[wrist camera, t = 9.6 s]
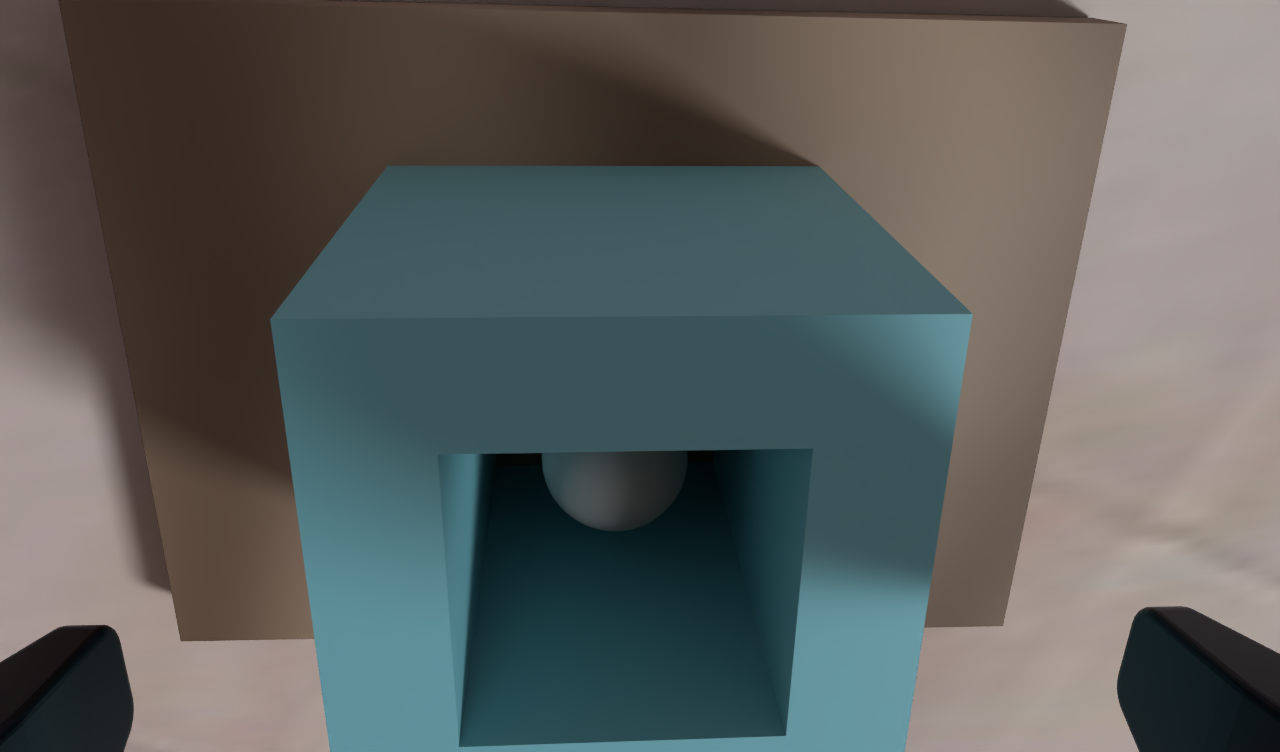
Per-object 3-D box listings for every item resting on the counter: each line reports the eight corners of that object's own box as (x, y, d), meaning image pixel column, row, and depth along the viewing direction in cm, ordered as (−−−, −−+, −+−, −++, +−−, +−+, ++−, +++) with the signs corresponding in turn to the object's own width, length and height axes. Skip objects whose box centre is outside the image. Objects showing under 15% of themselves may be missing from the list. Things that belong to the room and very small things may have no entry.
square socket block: (419, 538, 16) (343, 845, 11) (387, 165, 14) (269, 319, 9) (788, 530, 17) (894, 822, 11) (819, 165, 14) (972, 312, 9)
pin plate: (200, 604, 18) (77, 831, 13) (92, -5, 14) (-137, 27, 9) (982, 592, 19) (1110, 800, 14) (1092, 18, 15) (1320, 57, 10)
